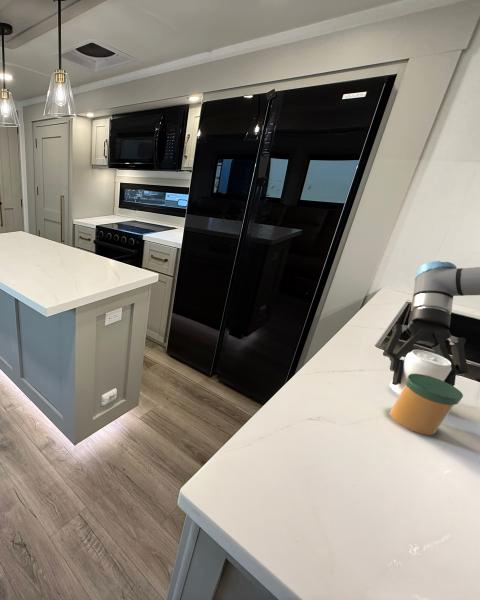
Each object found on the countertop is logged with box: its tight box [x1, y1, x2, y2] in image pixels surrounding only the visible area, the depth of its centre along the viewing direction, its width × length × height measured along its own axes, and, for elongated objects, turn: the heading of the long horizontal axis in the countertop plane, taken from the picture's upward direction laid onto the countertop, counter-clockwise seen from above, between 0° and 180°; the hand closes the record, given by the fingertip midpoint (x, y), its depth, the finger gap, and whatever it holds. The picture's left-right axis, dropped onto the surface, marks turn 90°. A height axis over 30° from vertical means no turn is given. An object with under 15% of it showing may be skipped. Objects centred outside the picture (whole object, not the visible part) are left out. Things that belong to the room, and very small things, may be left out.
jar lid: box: [405, 374, 464, 406], centre depth 71 cm, size 9×9×2 cm
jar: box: [389, 385, 455, 436], centre depth 73 cm, size 8×8×10 cm
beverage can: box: [389, 349, 451, 396], centre depth 81 cm, size 8×8×12 cm
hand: (418, 390), depth 80 cm, fingers closed on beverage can, 8 cm apart
